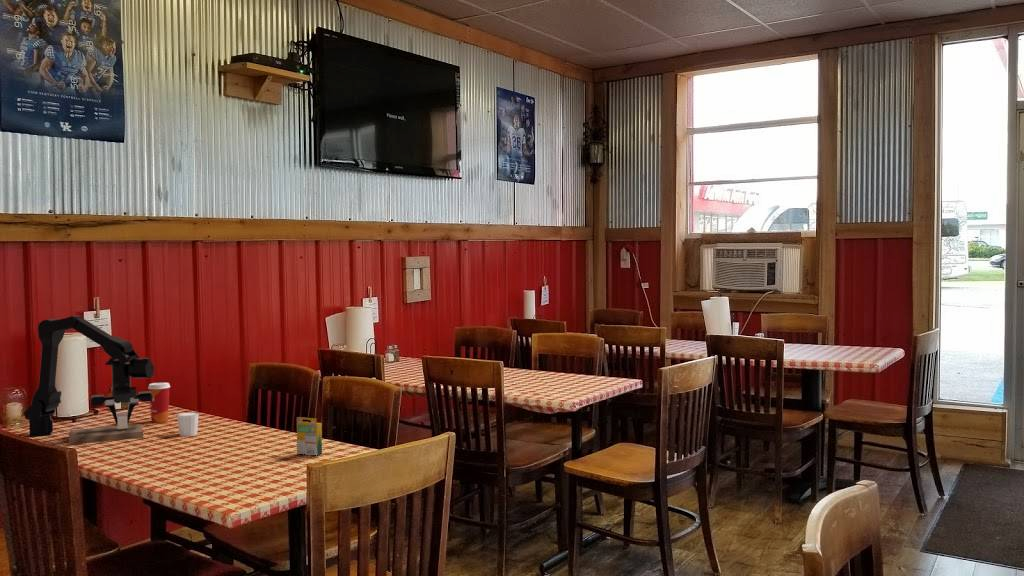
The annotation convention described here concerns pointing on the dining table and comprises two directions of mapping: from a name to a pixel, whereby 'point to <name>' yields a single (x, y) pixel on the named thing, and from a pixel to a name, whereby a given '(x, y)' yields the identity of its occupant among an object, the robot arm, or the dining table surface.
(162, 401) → the paper cup
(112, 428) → the fader console
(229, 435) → the dining table surface
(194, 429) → the white tapered cup
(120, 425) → the fader tab
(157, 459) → the dining table surface
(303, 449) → the crayon box
